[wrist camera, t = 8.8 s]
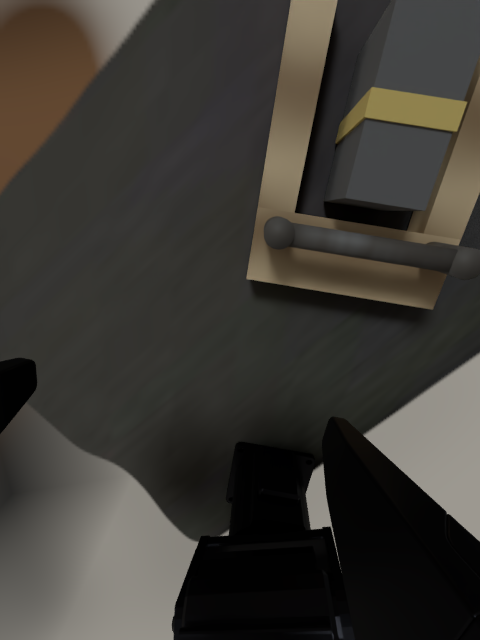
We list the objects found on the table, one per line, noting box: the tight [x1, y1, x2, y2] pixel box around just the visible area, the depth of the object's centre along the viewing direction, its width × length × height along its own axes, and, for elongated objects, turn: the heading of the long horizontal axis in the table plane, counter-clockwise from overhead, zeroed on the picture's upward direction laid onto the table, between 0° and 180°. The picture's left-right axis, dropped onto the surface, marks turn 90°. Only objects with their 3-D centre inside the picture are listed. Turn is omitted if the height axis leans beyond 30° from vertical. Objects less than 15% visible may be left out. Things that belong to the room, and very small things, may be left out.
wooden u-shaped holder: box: [246, 0, 480, 310], centre depth 14 cm, size 14×11×5 cm
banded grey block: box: [324, 0, 480, 211], centre depth 14 cm, size 4×7×5 cm, turn 171°
